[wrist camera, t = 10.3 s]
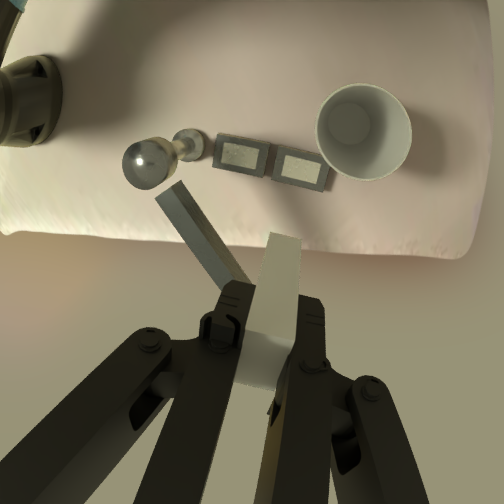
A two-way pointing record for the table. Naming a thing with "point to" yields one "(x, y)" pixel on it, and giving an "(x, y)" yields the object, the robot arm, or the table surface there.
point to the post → (188, 144)
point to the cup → (363, 132)
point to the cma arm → (180, 207)
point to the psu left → (240, 154)
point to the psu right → (300, 168)
